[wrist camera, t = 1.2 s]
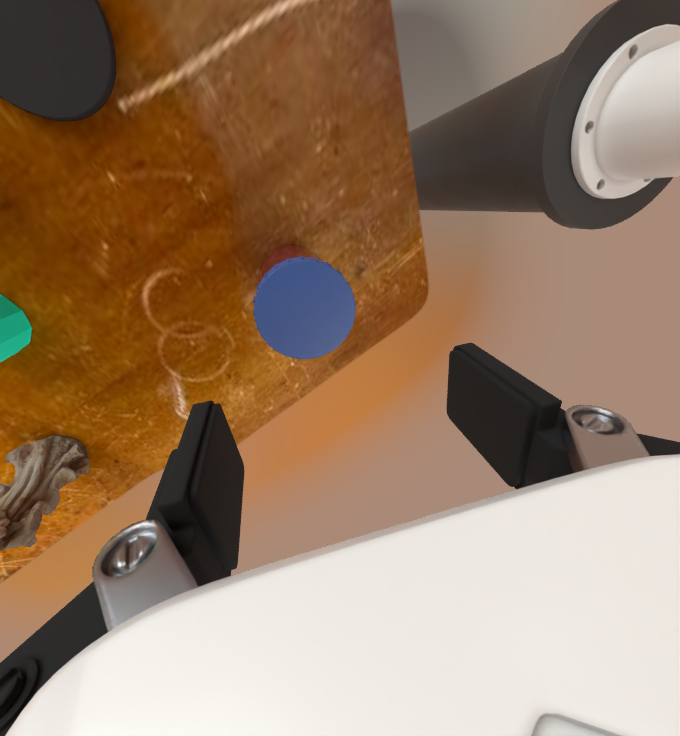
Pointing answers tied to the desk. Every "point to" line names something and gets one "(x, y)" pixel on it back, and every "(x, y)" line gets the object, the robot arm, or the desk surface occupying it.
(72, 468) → the figurine
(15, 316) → the candle
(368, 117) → the desk surface
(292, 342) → the jam lid
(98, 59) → the coaster
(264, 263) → the jam jar
